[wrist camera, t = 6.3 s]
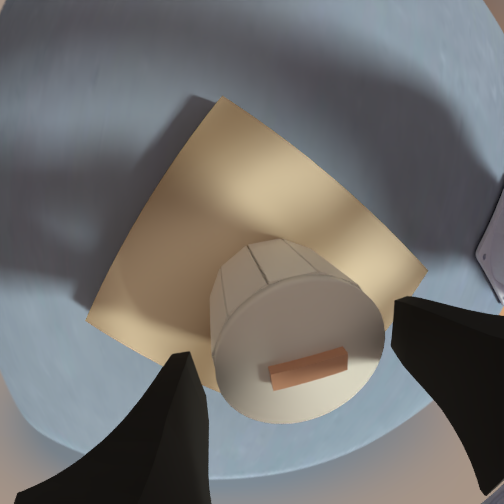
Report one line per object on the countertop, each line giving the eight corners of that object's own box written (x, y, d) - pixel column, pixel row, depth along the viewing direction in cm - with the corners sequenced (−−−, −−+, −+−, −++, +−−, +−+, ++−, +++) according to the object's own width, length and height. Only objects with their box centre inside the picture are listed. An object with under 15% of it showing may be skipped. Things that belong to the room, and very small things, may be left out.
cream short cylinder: (325, 229, 13) (395, 265, 7) (332, 335, 14) (382, 402, 9) (199, 254, 12) (193, 313, 7) (225, 360, 14) (236, 444, 8)
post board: (411, 262, 16) (469, 292, 11) (295, 404, 17) (318, 462, 12) (220, 105, 12) (228, 65, 7) (96, 306, 14) (57, 360, 9)
